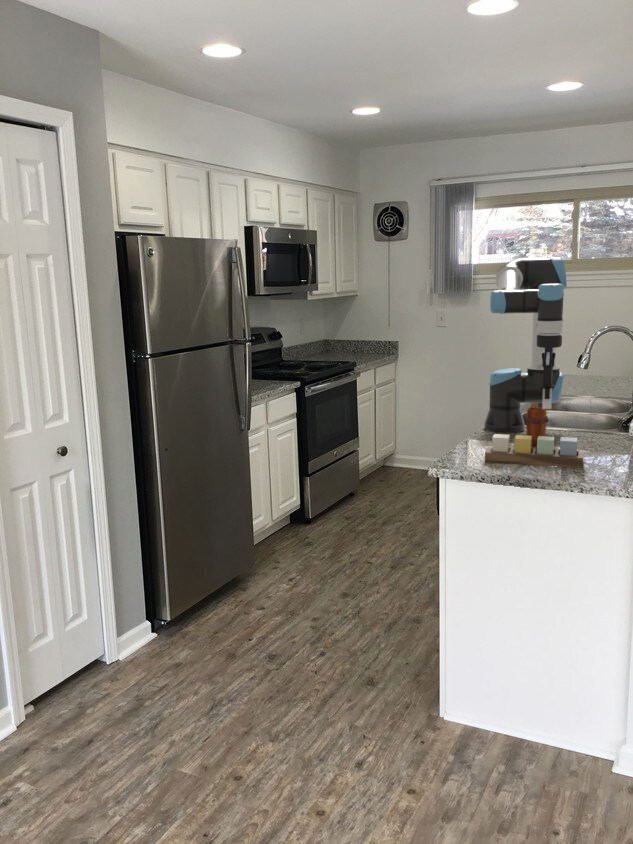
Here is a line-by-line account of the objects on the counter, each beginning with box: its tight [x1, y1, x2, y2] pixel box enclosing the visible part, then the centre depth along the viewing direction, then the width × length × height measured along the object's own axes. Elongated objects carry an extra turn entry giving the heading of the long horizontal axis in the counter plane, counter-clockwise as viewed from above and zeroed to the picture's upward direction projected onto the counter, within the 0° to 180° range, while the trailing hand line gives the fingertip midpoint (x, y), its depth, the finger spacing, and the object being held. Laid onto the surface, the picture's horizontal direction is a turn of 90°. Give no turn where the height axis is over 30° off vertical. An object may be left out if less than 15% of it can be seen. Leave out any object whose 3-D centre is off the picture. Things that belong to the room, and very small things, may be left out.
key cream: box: [491, 433, 511, 452], centre depth 237 cm, size 5×5×5 cm
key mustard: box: [513, 434, 532, 453], centre depth 235 cm, size 5×5×5 cm
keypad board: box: [484, 444, 584, 470], centre depth 234 cm, size 10×30×4 cm, turn 70°
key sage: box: [537, 435, 555, 455], centre depth 232 cm, size 5×5×5 cm
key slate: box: [559, 436, 578, 456], centre depth 230 cm, size 5×5×5 cm
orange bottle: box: [524, 402, 550, 448], centre depth 252 cm, size 15×8×15 cm, turn 168°
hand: (546, 408), depth 229 cm, fingers closed
